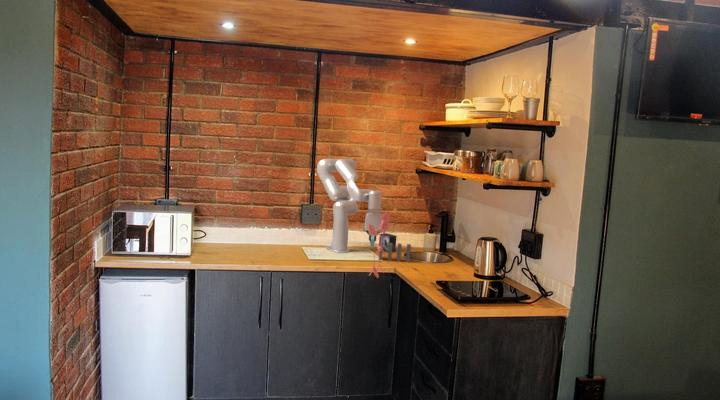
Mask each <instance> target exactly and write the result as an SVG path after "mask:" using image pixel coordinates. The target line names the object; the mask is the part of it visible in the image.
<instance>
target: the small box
mask: <svg viewBox="0 0 720 400" xmlns="http://www.w3.org/2000/svg"><path fill="white" fill-rule="evenodd" d="M379 234H380V235H381V236H382V242H383V250H384V252H386V251H387V252H386V253H388V247H389V243H392V253H395V252H396V251H397V239H398V238H397V235H396V234H391V233H387V232H385V234H383V233H379ZM378 238H379V239H378V241H379V243H378V245H379V244H380V242H381V237H380V236H379V237H378ZM396 253H397V252H396Z"/></svg>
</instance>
